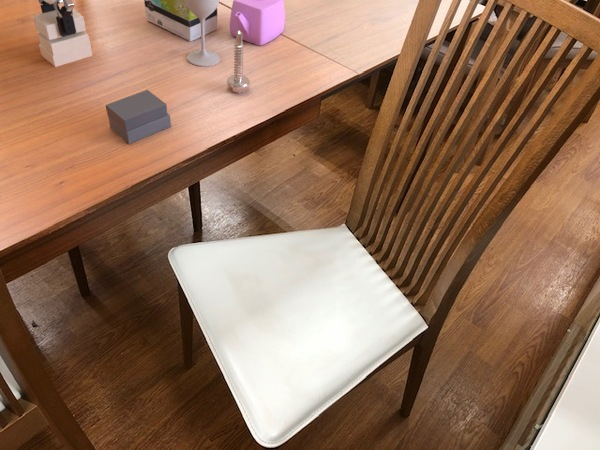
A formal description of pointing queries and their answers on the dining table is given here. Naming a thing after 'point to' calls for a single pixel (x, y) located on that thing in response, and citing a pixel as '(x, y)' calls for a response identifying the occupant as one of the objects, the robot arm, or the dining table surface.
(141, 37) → the dining table surface
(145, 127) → the grey stack
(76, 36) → the white stack
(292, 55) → the dining table surface
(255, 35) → the teapot
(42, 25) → the white block
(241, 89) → the screw
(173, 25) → the tea box
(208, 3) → the wineglass
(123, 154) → the dining table surface
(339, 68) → the dining table surface
